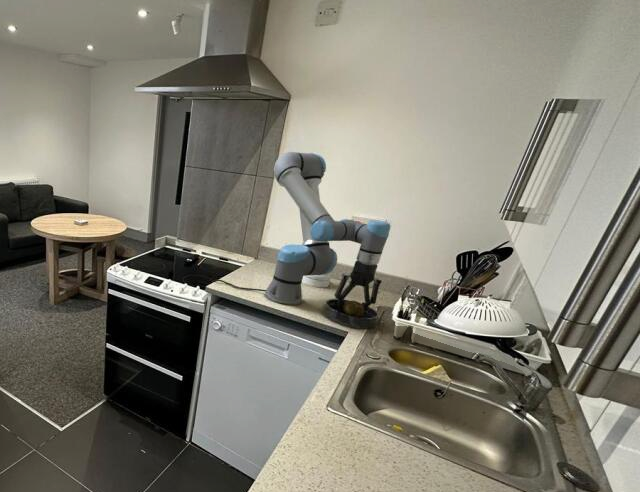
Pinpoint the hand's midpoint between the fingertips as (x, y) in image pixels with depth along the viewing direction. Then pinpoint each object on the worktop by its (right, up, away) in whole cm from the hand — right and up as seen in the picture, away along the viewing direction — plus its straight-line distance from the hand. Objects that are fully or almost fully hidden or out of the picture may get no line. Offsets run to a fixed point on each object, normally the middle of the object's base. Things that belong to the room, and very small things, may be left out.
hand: (348, 316), depth 158 cm
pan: (0, -1, 0) cm, 1 cm away
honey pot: (+5, +16, +39) cm, 42 cm away
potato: (0, 0, 0) cm, 1 cm away
